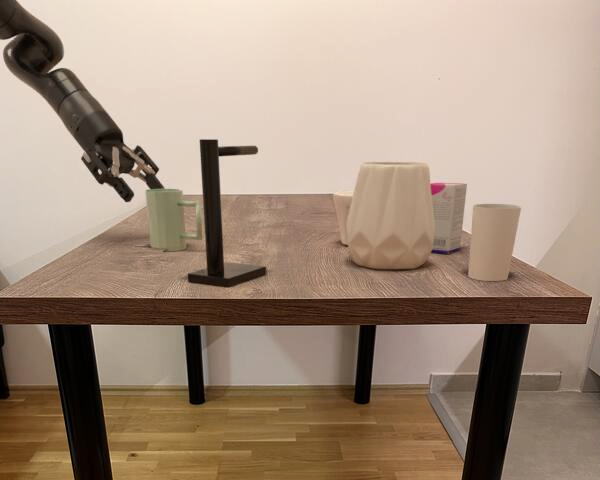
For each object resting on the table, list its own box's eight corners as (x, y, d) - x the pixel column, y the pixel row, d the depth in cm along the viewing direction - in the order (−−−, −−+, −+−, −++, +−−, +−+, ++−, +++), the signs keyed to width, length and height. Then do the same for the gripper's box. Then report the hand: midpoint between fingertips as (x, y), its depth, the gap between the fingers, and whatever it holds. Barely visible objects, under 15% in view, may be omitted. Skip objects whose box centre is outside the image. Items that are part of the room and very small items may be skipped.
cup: (359, 251, 114) (362, 196, 110) (321, 244, 121) (321, 192, 117) (395, 245, 120) (399, 193, 116) (356, 239, 127) (358, 189, 123)
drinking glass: (467, 281, 92) (475, 208, 88) (463, 271, 98) (470, 203, 94) (514, 282, 91) (525, 209, 87) (507, 273, 97) (517, 204, 93)
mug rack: (228, 287, 88) (222, 139, 80) (188, 282, 91) (177, 139, 83) (278, 270, 99) (276, 138, 91) (240, 266, 102) (235, 138, 94)
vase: (326, 262, 104) (329, 162, 98) (384, 253, 113) (390, 160, 106) (392, 276, 95) (399, 166, 88) (449, 264, 103) (460, 163, 97)
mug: (143, 249, 115) (137, 190, 111) (166, 244, 120) (161, 188, 116) (191, 254, 110) (187, 193, 106) (213, 249, 115) (210, 190, 111)
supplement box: (460, 250, 116) (468, 182, 111) (448, 254, 111) (455, 184, 106) (431, 247, 119) (437, 181, 114) (418, 251, 114) (423, 183, 109)
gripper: (109, 141, 122) (162, 207, 122) (51, 142, 111) (109, 215, 111) (127, 110, 117) (182, 179, 117) (69, 107, 106) (129, 184, 106)
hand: (146, 196), depth 114 cm, fingers open, 8 cm apart
